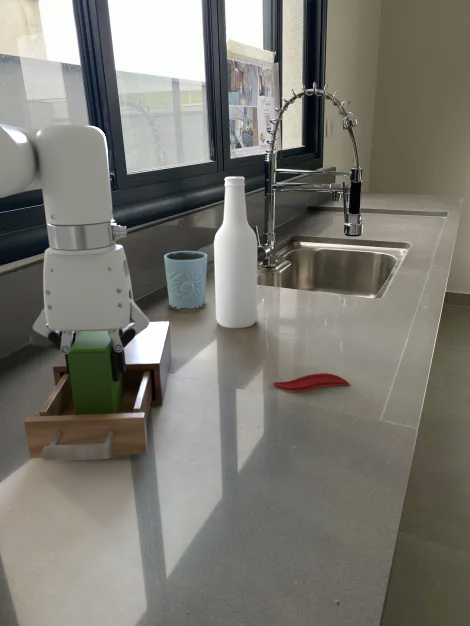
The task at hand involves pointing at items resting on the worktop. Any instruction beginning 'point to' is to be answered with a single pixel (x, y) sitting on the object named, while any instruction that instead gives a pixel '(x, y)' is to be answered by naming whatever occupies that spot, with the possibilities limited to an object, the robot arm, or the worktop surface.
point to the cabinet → (141, 356)
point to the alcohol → (235, 261)
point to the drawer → (92, 423)
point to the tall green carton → (94, 375)
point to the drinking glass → (186, 278)
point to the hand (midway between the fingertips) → (97, 376)
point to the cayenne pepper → (311, 382)
